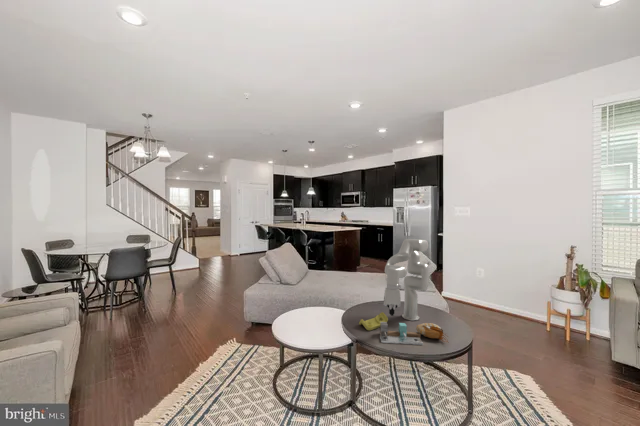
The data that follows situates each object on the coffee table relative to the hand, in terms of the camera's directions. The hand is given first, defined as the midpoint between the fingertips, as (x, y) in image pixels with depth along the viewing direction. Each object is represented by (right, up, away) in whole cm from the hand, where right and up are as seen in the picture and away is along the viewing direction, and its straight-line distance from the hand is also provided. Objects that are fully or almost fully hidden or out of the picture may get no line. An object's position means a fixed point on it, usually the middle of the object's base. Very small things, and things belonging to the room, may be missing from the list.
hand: (391, 314), depth 175 cm
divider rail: (+5, -14, -3) cm, 15 cm away
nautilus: (+26, -15, -2) cm, 30 cm away
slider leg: (+7, -14, -3) cm, 16 cm away
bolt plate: (+4, -14, -6) cm, 16 cm away
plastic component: (-8, -14, +15) cm, 22 cm away
